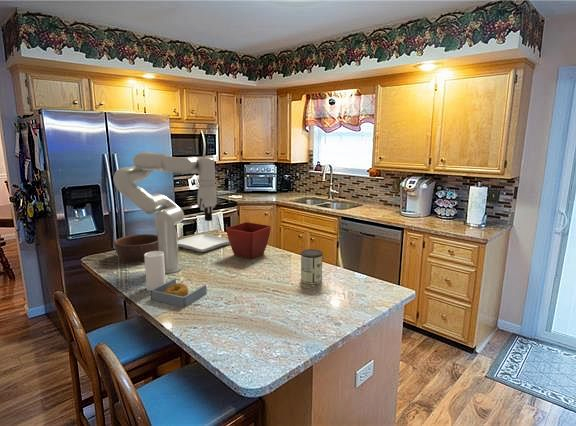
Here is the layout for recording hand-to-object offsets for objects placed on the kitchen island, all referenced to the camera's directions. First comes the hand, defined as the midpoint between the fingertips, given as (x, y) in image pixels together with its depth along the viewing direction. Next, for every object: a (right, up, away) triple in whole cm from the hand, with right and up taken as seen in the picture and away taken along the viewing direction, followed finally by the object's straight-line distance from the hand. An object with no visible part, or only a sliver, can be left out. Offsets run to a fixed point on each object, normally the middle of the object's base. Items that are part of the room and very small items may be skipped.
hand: (208, 220), depth 180 cm
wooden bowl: (-46, -22, +30) cm, 59 cm away
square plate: (-15, -18, +53) cm, 57 cm away
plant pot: (+16, -21, +35) cm, 44 cm away
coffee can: (+50, -29, -4) cm, 58 cm away
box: (-7, -32, -23) cm, 40 cm away
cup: (-21, -30, -14) cm, 39 cm away
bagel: (-9, -33, -23) cm, 41 cm away
